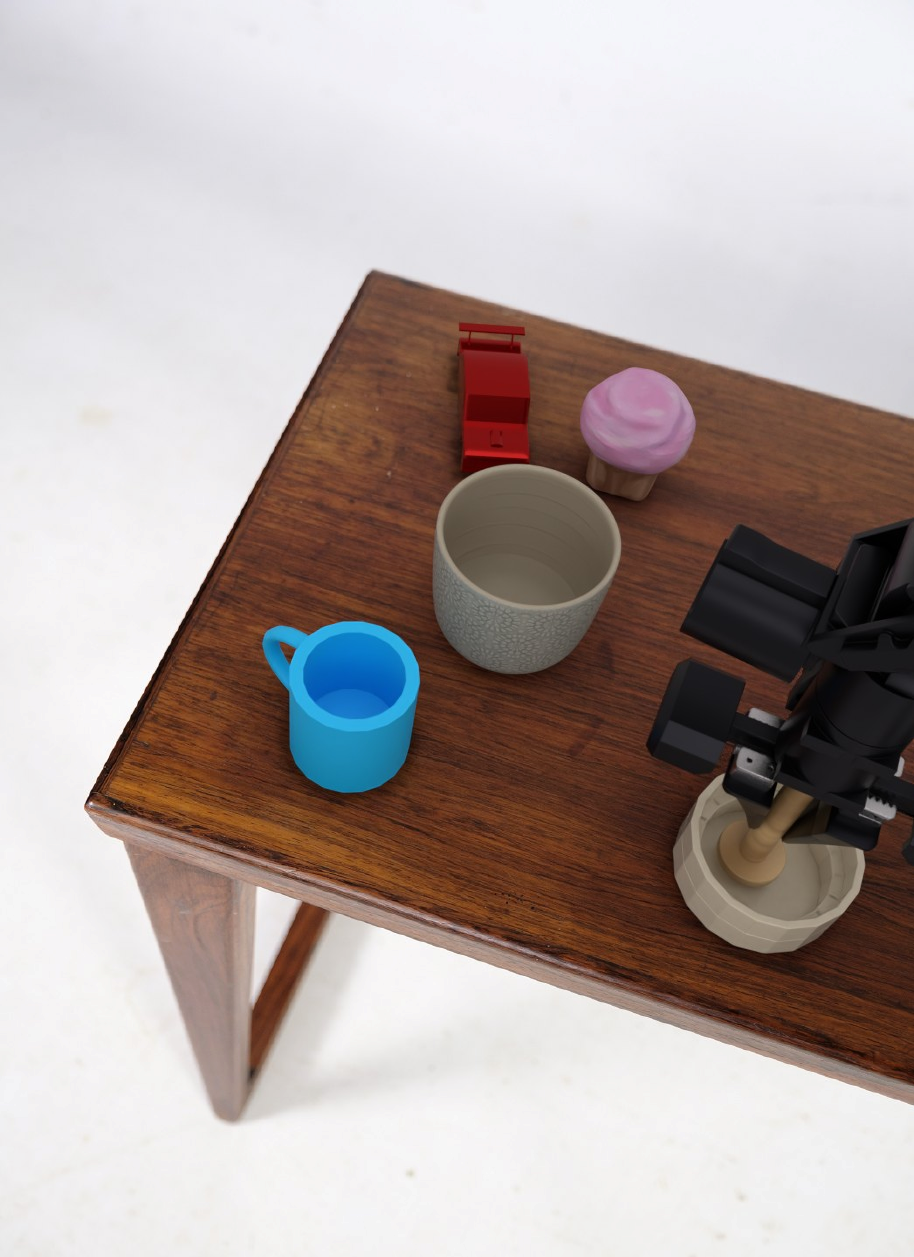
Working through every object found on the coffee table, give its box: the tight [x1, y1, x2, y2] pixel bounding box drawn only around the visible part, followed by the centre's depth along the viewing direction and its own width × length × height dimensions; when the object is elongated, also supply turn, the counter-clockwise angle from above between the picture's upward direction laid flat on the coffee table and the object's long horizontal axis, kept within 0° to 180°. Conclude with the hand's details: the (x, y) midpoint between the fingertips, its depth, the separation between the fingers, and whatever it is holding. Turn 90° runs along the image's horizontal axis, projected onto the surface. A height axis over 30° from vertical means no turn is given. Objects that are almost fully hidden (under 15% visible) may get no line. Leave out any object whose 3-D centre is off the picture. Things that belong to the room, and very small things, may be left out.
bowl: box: [672, 772, 866, 954], centre depth 77 cm, size 11×11×5 cm
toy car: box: [456, 321, 531, 474], centre depth 98 cm, size 14×6×5 cm, turn 2°
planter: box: [432, 464, 622, 675], centre depth 83 cm, size 12×12×11 cm
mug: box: [262, 620, 421, 794], centre depth 78 cm, size 12×8×8 cm
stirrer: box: [716, 785, 814, 887], centre depth 73 cm, size 4×4×11 cm
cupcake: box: [579, 366, 697, 502], centre depth 93 cm, size 9×9×10 cm
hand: (769, 828), depth 74 cm, fingers closed on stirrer, 2 cm apart
